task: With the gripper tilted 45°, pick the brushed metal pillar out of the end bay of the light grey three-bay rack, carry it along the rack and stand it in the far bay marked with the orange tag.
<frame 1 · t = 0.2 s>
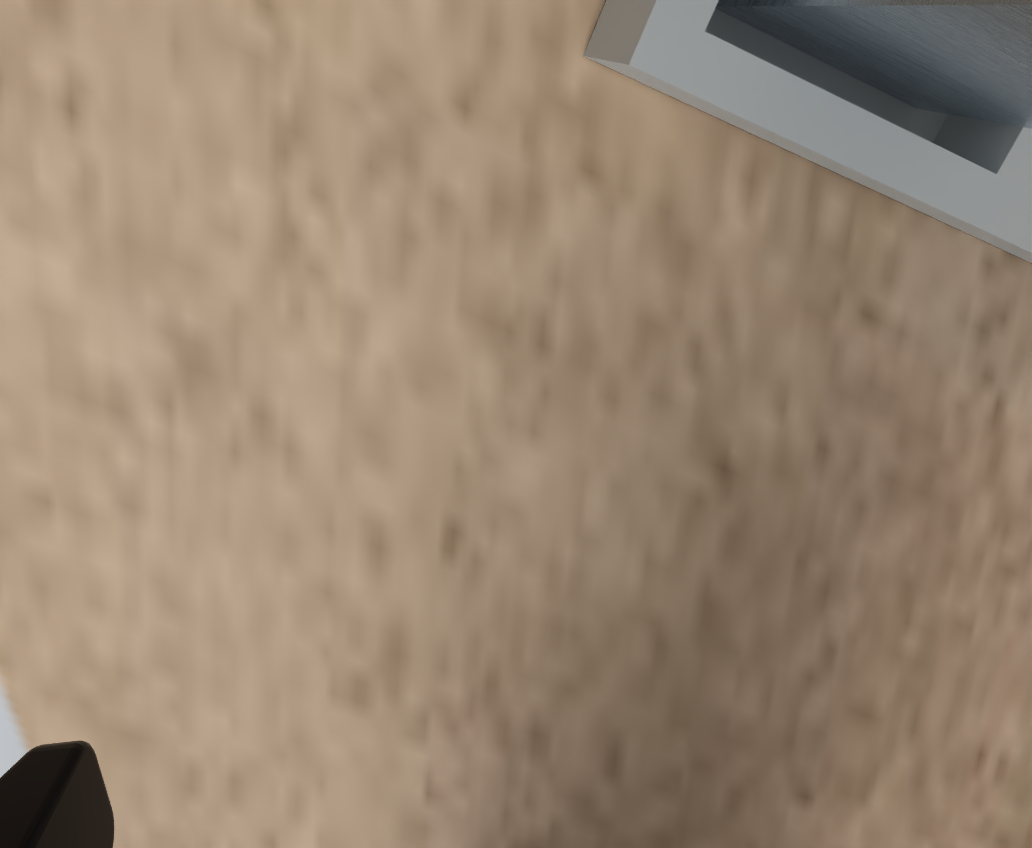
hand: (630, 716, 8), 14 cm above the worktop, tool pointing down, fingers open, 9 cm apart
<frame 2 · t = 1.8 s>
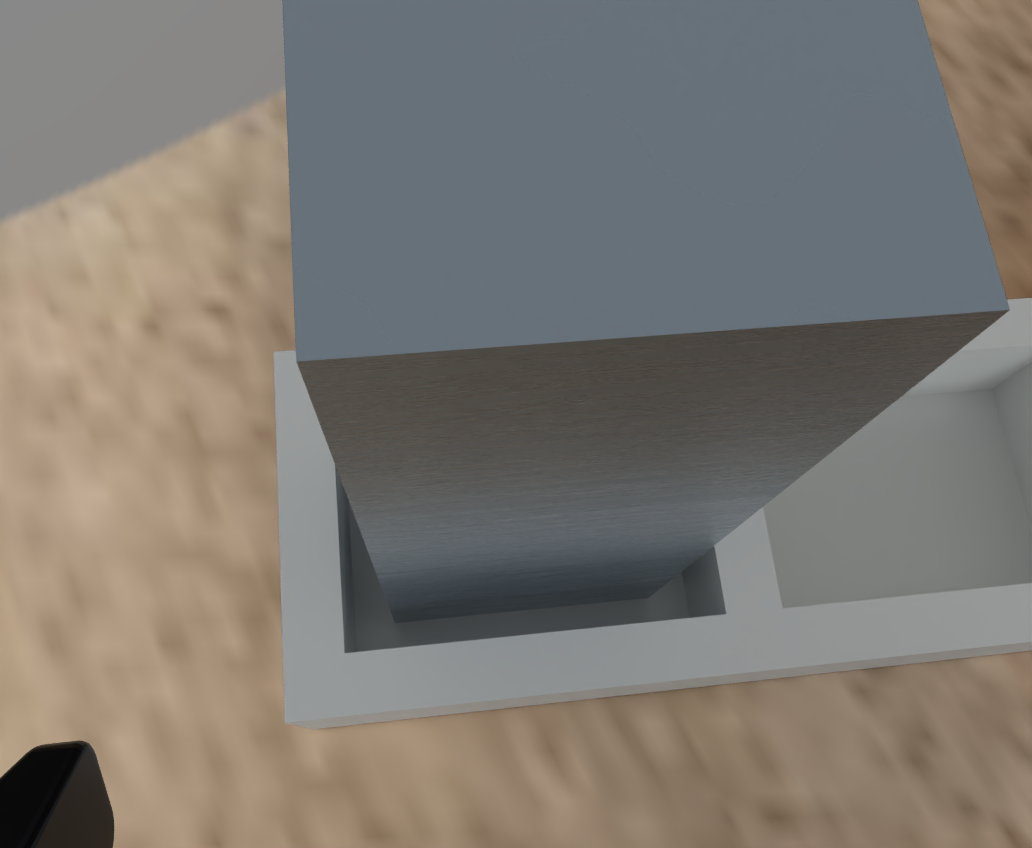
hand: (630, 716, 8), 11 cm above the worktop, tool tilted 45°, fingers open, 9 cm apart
brushed metal pillar: (515, 535, 19), point 1 cm above the worktop, touching rack
rack: (853, 513, 21), on the worktop
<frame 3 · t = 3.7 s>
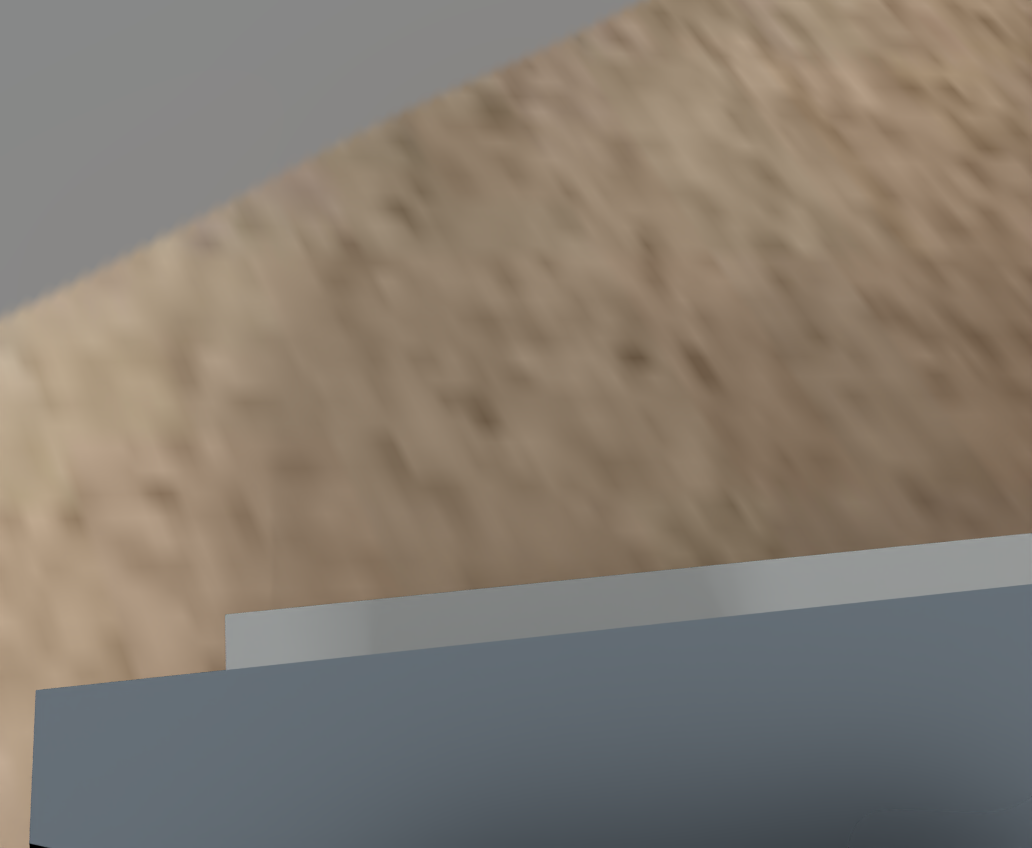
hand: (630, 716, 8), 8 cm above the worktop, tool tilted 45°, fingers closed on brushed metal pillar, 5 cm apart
brushed metal pillar: (562, 830, 14), point 1 cm above the worktop, touching gripper, rack
rack: (1004, 768, 16), on the worktop
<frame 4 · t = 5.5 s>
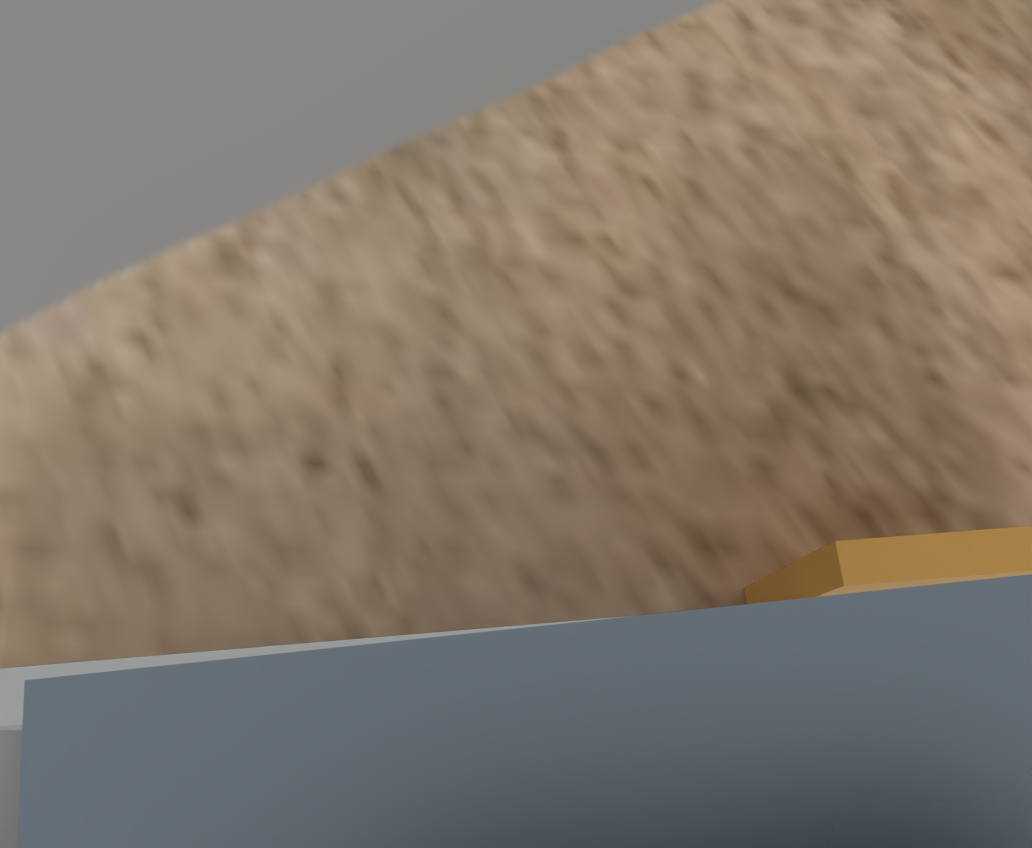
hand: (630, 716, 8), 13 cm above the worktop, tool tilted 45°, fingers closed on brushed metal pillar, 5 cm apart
brushed metal pillar: (560, 829, 14), point 7 cm above the worktop, touching gripper
rack: (561, 794, 21), on the worktop
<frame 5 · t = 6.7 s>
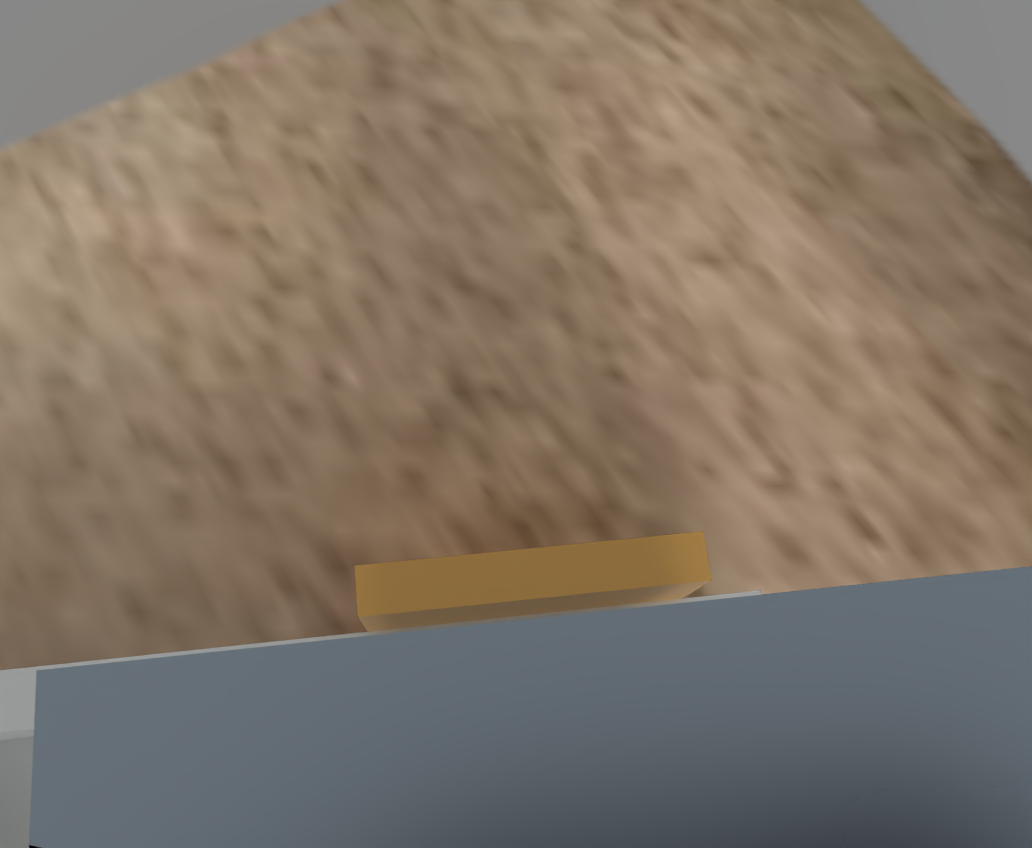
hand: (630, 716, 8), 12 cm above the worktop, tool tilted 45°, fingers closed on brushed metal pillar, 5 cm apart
brushed metal pillar: (561, 828, 14), point 5 cm above the worktop, touching gripper
when the fingers open (8 cm above the worktop, at t = 7.8 s): brushed metal pillar stays where it is, resting on rack.
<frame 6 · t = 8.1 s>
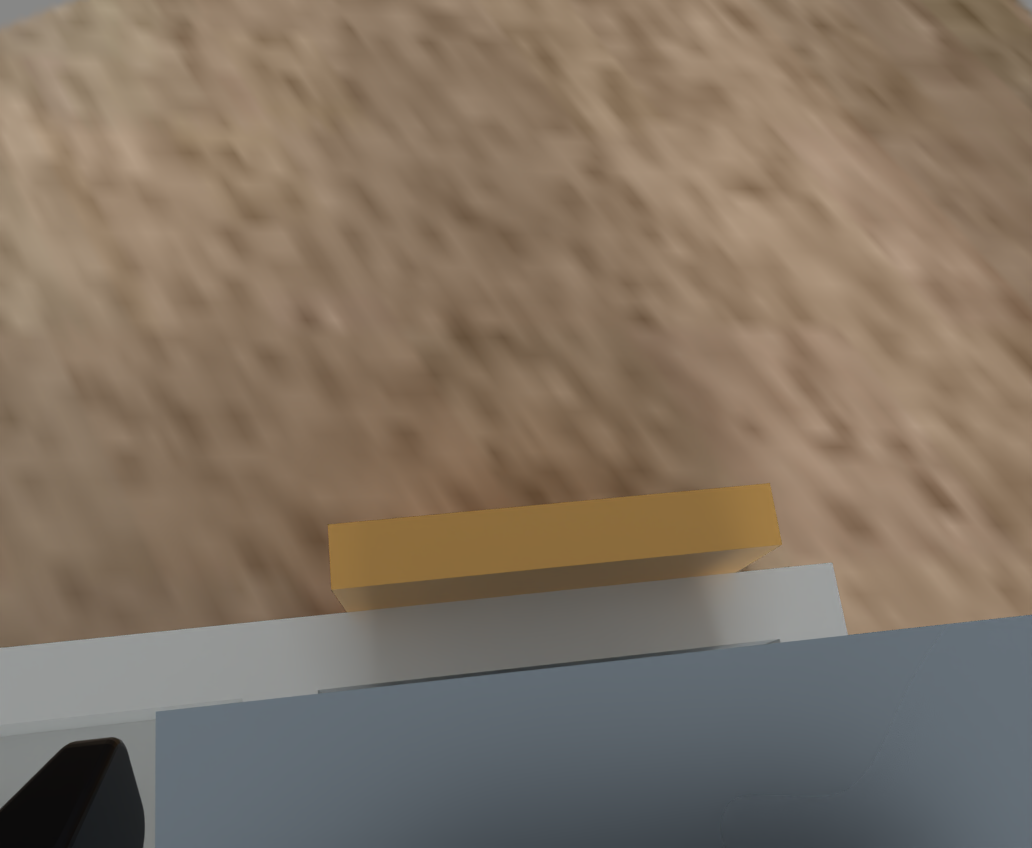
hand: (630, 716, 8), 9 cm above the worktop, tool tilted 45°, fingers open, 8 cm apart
brushed metal pillar: (554, 825, 15), point 1 cm above the worktop, touching rack
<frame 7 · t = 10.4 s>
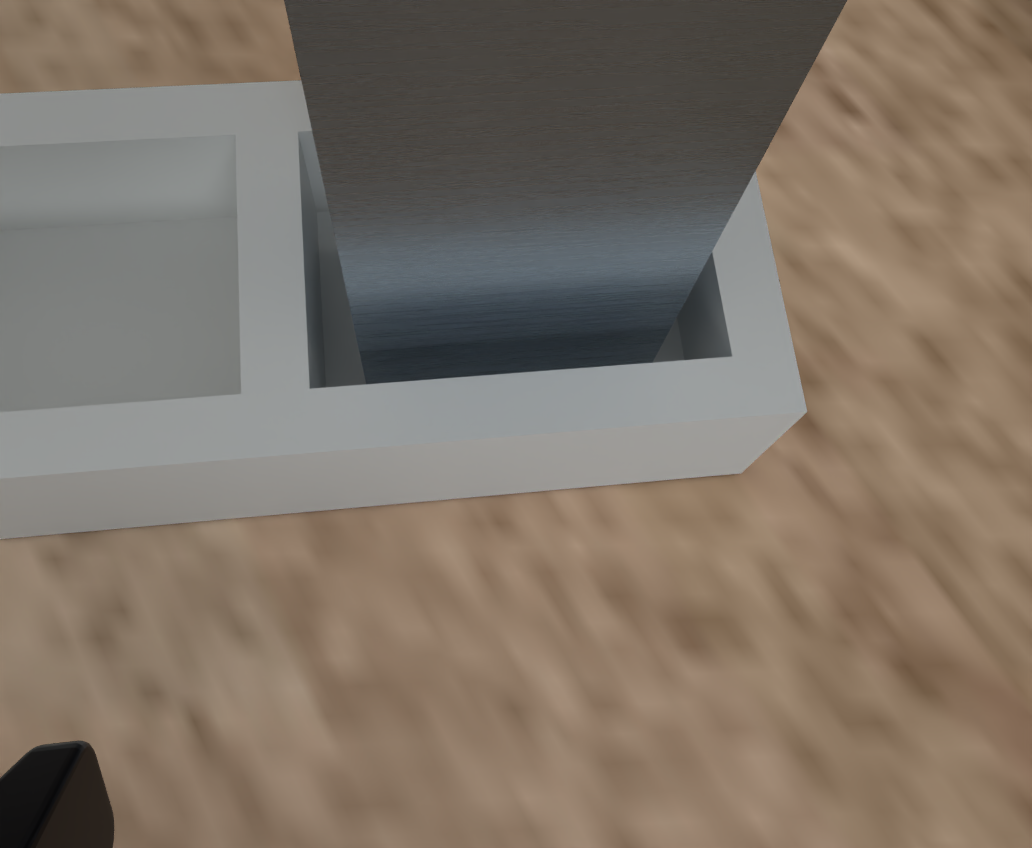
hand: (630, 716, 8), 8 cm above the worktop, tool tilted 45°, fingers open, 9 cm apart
brushed metal pillar: (500, 309, 18), point 1 cm above the worktop, touching rack
rack: (97, 359, 18), on the worktop
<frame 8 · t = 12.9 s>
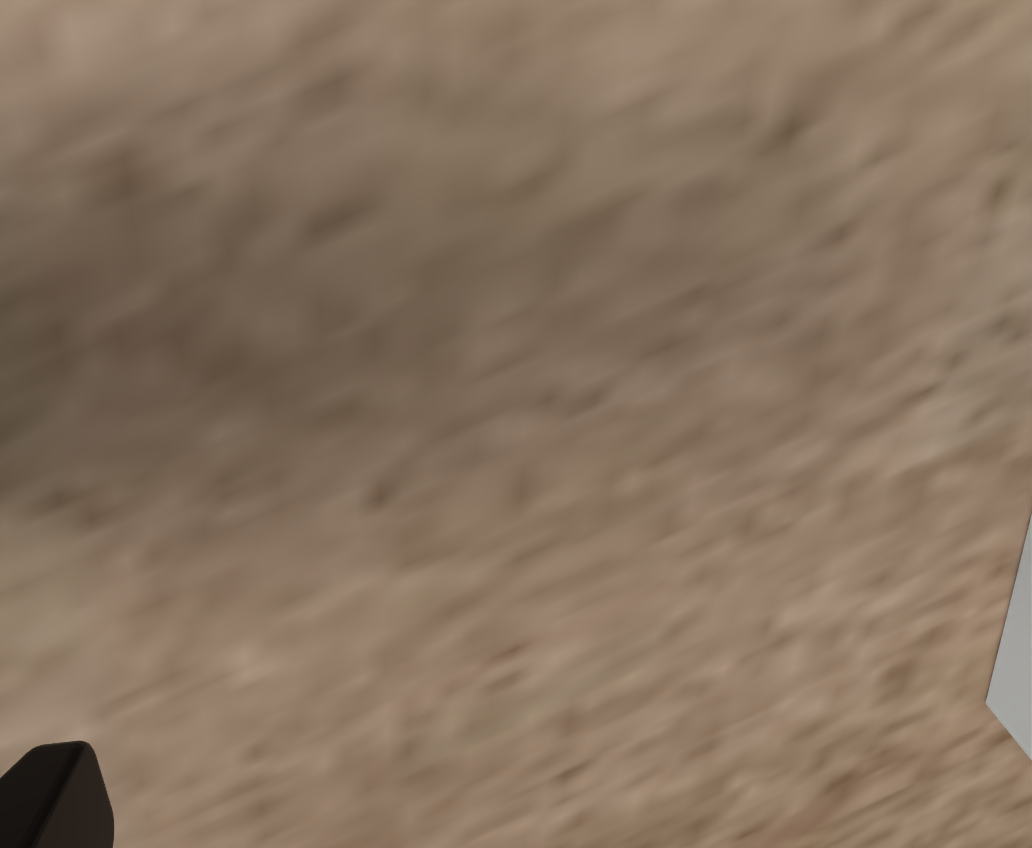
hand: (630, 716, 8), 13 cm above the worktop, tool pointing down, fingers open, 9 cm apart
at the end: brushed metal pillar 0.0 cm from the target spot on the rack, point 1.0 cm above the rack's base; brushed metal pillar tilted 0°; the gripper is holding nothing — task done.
